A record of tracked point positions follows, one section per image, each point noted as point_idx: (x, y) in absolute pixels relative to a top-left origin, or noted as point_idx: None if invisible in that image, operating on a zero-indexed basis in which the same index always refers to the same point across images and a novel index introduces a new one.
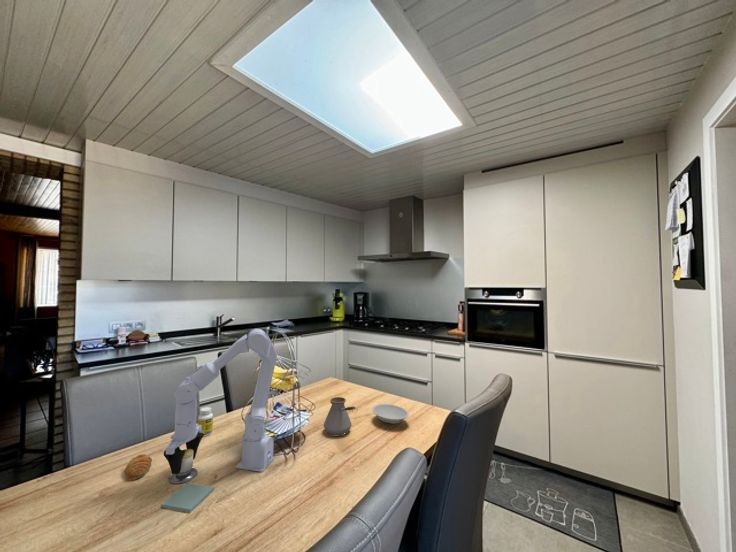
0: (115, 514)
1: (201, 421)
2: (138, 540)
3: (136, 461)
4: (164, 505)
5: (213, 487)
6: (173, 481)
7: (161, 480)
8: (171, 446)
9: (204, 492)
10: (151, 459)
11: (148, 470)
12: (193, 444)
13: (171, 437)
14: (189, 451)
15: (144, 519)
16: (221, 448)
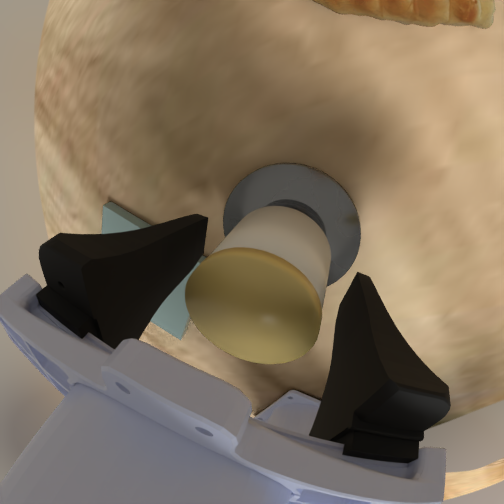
0: (91, 70)
1: None
2: (45, 196)
3: None
4: (103, 216)
5: (179, 338)
6: (238, 199)
7: (277, 125)
8: (11, 335)
9: (156, 317)
10: (467, 19)
11: (396, 21)
12: (336, 381)
13: (110, 361)
14: (268, 346)
15: (77, 175)
16: (475, 350)
